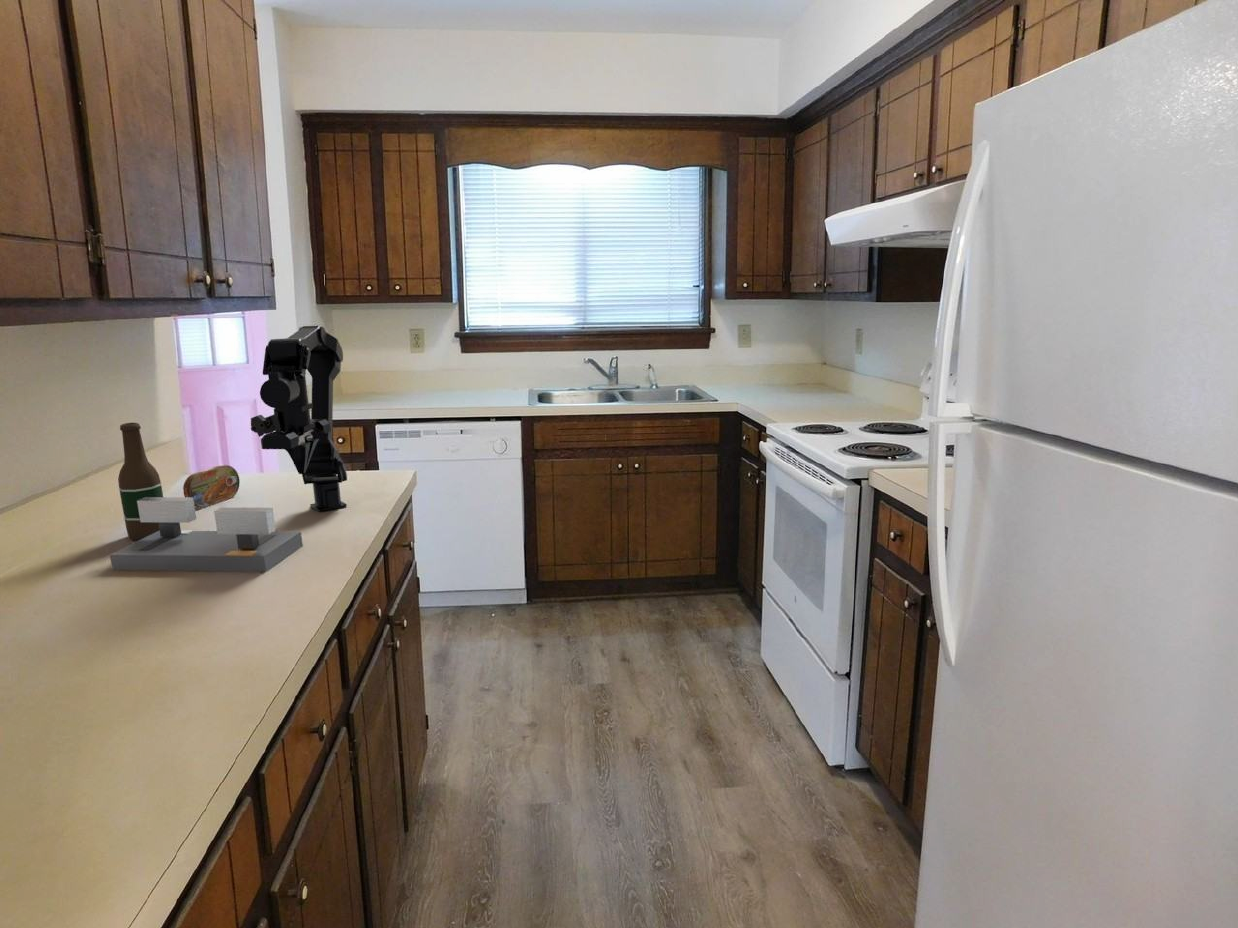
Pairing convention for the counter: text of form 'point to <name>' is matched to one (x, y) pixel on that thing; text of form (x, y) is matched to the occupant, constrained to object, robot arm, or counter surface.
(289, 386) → the robot arm
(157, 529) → the beer bottle
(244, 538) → the switch
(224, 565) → the switch panel
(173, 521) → the switch
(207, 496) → the tin
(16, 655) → the counter surface
